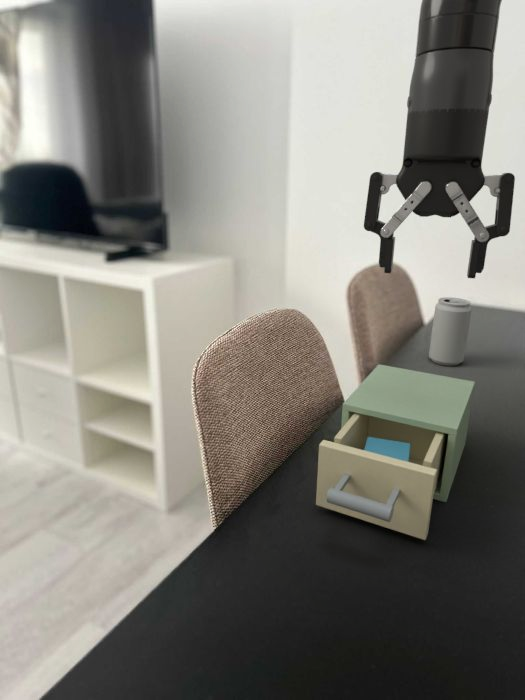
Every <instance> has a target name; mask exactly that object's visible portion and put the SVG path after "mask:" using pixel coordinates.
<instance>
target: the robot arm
mask: <svg viewBox="0 0 525 700" xmlns="http://www.w3.org/2000/svg"><path fill="white" fill-rule="evenodd" d="M502 1H503V0H421V3H420V8H419V15H418V26H417V35H416V45H415V46H416V47H415V55H414V57H415V58H414V64H413V69H412V74H411V79H410V85H409V90H408V91H409V92H408V97H407V101H406V107H407V113H406V114H407V115H406V125H405V135H404V145H403V155H402V165H401V169H400V171H399V172H398V173H397V174H393V173H382V172H380V171H374V172H372V173H371V175H370V177H369V180H368V181H369V182H368V189H367V190H368V191H367V198H366V205H365V212H364V220H363V229H364V230H365V231H367V232H371V233H374V234H376V235H377V236H379V238H380V239H379V240H380V242H379V255H378V264H379V267H380V268H384V269H383V270H384V274H392V272H393V267H394V265H393V264H394V255H395V244H396V236H394V233H395V232H396V231H397V229H398V228H399V227H400V226H401V225H402V224H403V223H404V222H405V220H406V219H407V218H408V217H409V216H410V215H411V213H413V214H415V215H417V216H419V217H423V218H424V217H425V218H427V217H432V216H438V217H441V218H452V217H455V216H457V215H459V214H460V216H461V217H462V219H463V220H464V222H465V223H466V225H467V226H468V228H469V230H470V231H471V232H472V233H471V234H473V236H474V239H471V244H470V251H469V258H468V265H467V273H466V276H467V279H476V277H477V274H481V273H482V272H483V271H484V268H485V263H486V256H487V249H488V244H489V242H491V240H494V239H498V238H500V237H506V236H507V235H509V233H510V231H511V221H512V213H513V204H514V203H513V201H514V192H515V181H516V177H515V174H513V173H511V172H503V173H501V174H489V175H488V174H487V175H486V174H484V172H483V168H482V165H483V155H484V148H485V142H486V134H487V126H488V120H489V113H490V107H491V104H492V100H493V94H492V92H493V83H494V58H495V57H494V56H495V55H494V54H495V49H496V42H497V35H498V28H499V20H500V13H501V12H500V10H501V4H502ZM393 185H395V186H396V187H397V189H398V190H399V192H400V194H401V196H402V197H403V199H404V200H405V201H404V202H403V203H402V204H401V205H400V207H399V208H398V209H397V210H396V211H395V213H393V215H392V216H391V217H390V218H389V219H388V221H387V222H385V221H382V220H379V218H380V217H379V216H380V211H381V204H382V203H381V202H382V195H386V194H388V193H389V192H390V190H391V187H392V186H393ZM484 186H486V187H488V188H487V189H488V190H489V194H490V195H491V196H492V197H494V198H496V201H495V202H496V203H495V213H494V214H495V215H494V223H492V224H490V225H485V224H484V223H483V222H482V220H481V219H480V217H479V216H478V214H477V212H476V211H475V209H474V208H473V206H472V204H471V203H470V202H471V201H472V200H473V199H474V197H476V195H478V193H479V192H480V191H481V190H482V189H483V188H484Z"/></svg>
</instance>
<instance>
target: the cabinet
mask: <svg viewBox="0 0 525 700" xmlns="http://www.w3.org/2000/svg"><path fill="white" fill-rule="evenodd" d="M475 385H476V381H473V380H469V379H468V380H467V379H461V378H456V377H451V376H447V375H446V376H445V375H440V374H435V373H429V372H423V371H418V370H413V369H406V368H403V367H402V368H401V367H395V366H392V365H385V364H377V365H376V367H374V369H372V370H371V372H370V373H369V374H368V375H367V376H366V377H365V379H364V380H363V381H362V382H361V383H360V384H359V385H358V386H357V388H356V389H355V390H354V391H353V392H352V393H351V394H350V395H349V396H348V397H347V398H346V400H345V401H344V402H343V403H342V411H341V427H340V430H341V429H342V428H343V426H344V425H345V424H346V423H347V422H348V420H349V419H350V418H351V417H352V416H353V414H354V413H359V414H364V415H368V416H372V417H377V418H381V419H386V420H390V421H394V422H399V423H403V424H407V425H412V426H416V427H420V428H425V429H429V430H433V431H438V432H442V433H446V434H448V440H447V447H446V454H445V460H444V467H443V470H442V473H441V476H440V479H439V481H438V484H437V487H436V489H435V492H434V495H433V500H436V501H439V502H443V503H448V498H449V496H450V491H451V489H452V486H453V483H454V480H455V476H456V475H457V474H456V473H457V470H458V467H459V464H460V461H461V458H462V455H463V452H464V449H465V446H466V441H467V435H468V429H469V422H470V416H471V410H472V404H473V398H474V393H475Z"/></svg>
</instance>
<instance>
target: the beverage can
mask: <svg viewBox="0 0 525 700" xmlns="http://www.w3.org/2000/svg"><path fill="white" fill-rule="evenodd" d="M471 304H472V303H471V301H470V300H469V299H468V300H467V299H464V298H460V297H449V296H448V297H445V296H444V297H440V298H438V300H437V303H436V304H435V307H434V312H433V321H432V329H431V335H430V344H429V351H428V357H429V359H431V361H432V362H433V363H436V364H437V365H442V366H449V367H450V366H451V367H452V366H459V365H460V363H463V362H464V360H465V356H466V349H467V342H468V336H469V330H470V323H471V317H472V306H471Z"/></svg>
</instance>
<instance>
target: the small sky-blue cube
mask: <svg viewBox="0 0 525 700" xmlns="http://www.w3.org/2000/svg"><path fill="white" fill-rule="evenodd" d="M364 450H365V451H368V452H372V453H376V454H380V455H384V456H388V457H391V458H395V459H399V460H403V461H407V462H409V453H410V443H404V442H398V441H392V440H386V439H379V438H373V437H368V438H367V441H366V445H365V449H364Z"/></svg>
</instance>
